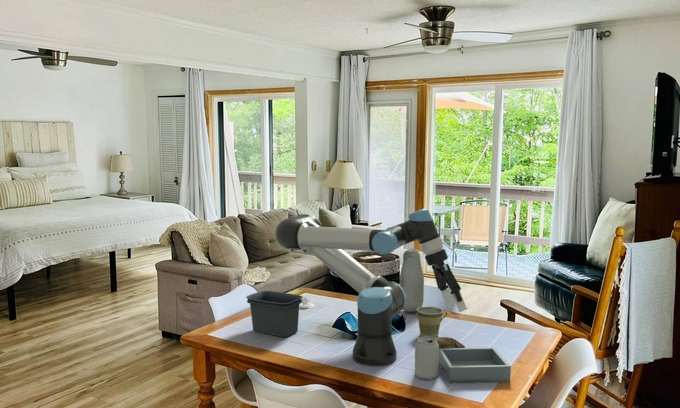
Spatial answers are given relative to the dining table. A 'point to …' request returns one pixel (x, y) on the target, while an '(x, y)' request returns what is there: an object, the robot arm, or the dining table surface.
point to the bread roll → (448, 343)
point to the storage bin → (274, 312)
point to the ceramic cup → (430, 320)
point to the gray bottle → (412, 280)
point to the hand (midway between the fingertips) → (457, 308)
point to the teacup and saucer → (305, 303)
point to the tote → (474, 365)
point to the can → (426, 358)
